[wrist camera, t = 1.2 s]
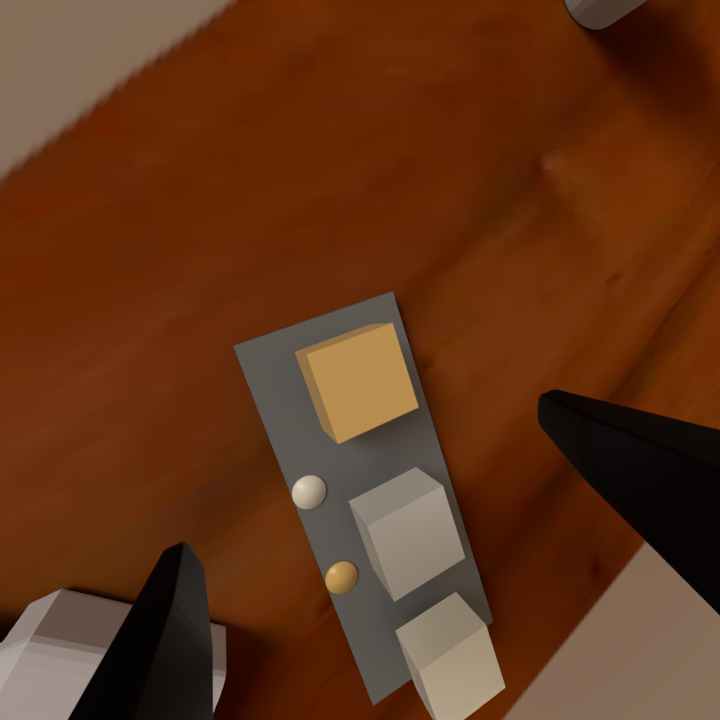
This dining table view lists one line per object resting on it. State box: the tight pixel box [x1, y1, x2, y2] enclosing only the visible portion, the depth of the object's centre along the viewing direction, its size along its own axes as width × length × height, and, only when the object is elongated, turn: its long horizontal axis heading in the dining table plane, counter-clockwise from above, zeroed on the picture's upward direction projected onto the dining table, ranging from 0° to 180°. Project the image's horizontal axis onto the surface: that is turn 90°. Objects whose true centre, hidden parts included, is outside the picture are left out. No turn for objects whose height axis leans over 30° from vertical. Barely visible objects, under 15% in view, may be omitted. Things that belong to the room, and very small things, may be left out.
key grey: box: [349, 467, 465, 602], centre depth 21 cm, size 4×4×3 cm
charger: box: [0, 589, 226, 720], centre depth 18 cm, size 5×9×15 cm
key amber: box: [295, 323, 419, 444], centre depth 20 cm, size 4×4×3 cm
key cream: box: [396, 592, 505, 720], centre depth 23 cm, size 4×4×3 cm
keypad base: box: [233, 292, 493, 706], centre depth 25 cm, size 25×10×1 cm, turn 19°
